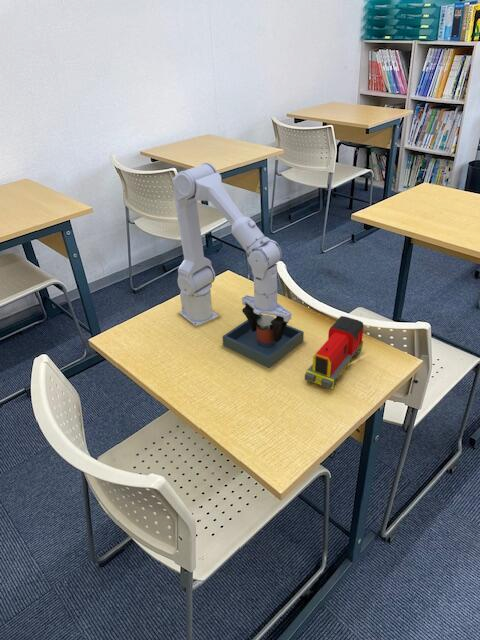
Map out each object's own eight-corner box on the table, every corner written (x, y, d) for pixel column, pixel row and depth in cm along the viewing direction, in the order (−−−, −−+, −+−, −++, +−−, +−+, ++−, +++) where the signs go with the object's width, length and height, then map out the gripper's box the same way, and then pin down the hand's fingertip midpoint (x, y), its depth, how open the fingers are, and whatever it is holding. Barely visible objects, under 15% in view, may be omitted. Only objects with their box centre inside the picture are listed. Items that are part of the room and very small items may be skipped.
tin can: (253, 341, 128) (252, 319, 125) (267, 334, 131) (267, 312, 127) (265, 350, 125) (264, 327, 121) (280, 343, 127) (280, 320, 124)
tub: (223, 347, 128) (222, 336, 126) (258, 323, 137) (257, 312, 135) (269, 370, 119) (269, 358, 117) (303, 342, 128) (303, 331, 126)
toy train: (362, 352, 123) (366, 319, 118) (330, 396, 110) (332, 361, 105) (337, 344, 127) (340, 312, 121) (303, 386, 113) (304, 351, 108)
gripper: (233, 287, 121) (235, 332, 128) (279, 305, 113) (279, 352, 120) (251, 276, 125) (252, 320, 133) (296, 293, 117) (296, 339, 124)
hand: (266, 334), depth 127 cm, fingers open, 7 cm apart
